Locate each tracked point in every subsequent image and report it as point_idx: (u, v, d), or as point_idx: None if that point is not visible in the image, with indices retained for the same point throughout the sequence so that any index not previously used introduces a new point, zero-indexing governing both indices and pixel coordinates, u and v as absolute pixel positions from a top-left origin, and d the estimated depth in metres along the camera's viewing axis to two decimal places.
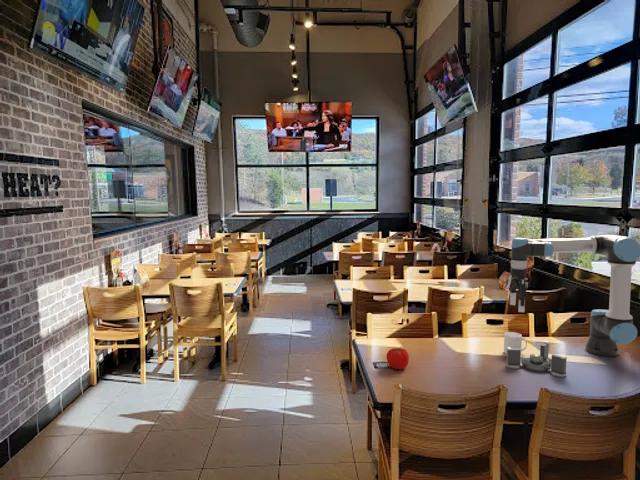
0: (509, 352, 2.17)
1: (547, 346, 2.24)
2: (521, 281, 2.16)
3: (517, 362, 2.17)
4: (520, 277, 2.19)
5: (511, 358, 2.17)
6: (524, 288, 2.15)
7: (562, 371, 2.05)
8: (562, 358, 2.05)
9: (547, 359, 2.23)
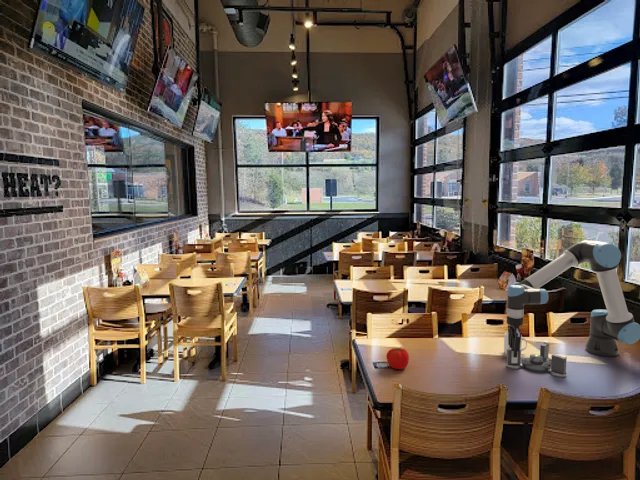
0: (509, 352, 2.17)
1: (547, 346, 2.24)
2: (517, 335, 2.10)
3: (517, 362, 2.17)
4: (516, 326, 2.12)
5: None
6: (519, 341, 2.11)
7: (562, 371, 2.05)
8: (562, 358, 2.05)
9: (547, 359, 2.23)
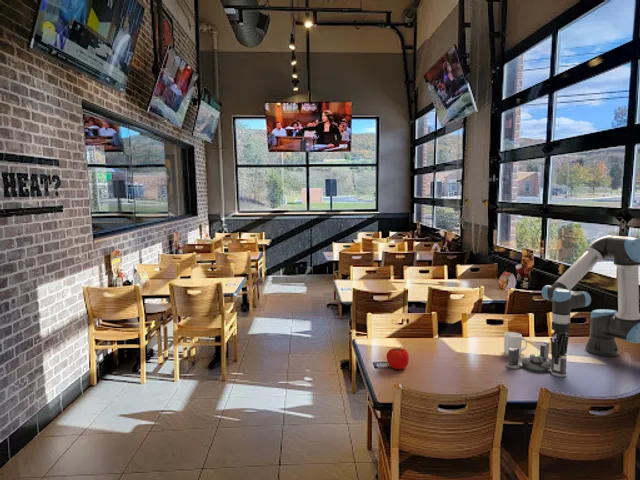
0: (512, 353, 2.15)
1: (547, 346, 2.24)
2: (551, 340, 2.03)
3: (516, 361, 2.18)
4: (555, 331, 2.04)
5: (513, 358, 2.16)
6: (554, 347, 2.03)
7: (562, 371, 2.05)
8: (562, 358, 2.05)
9: (547, 359, 2.23)
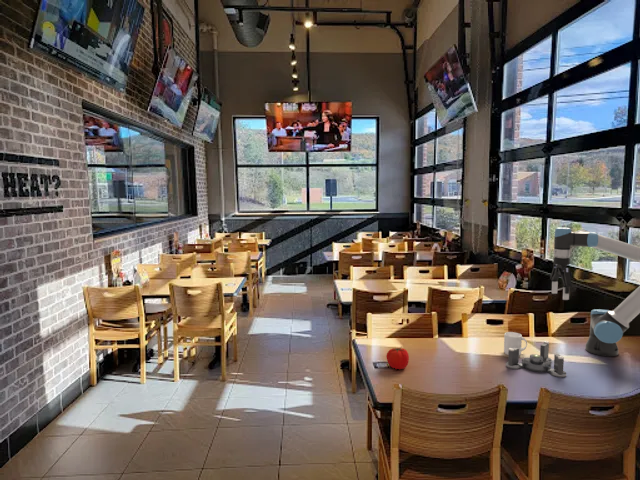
0: (512, 353, 2.15)
1: (547, 346, 2.24)
2: (565, 269, 2.22)
3: (516, 361, 2.18)
4: (564, 266, 2.25)
5: (513, 358, 2.16)
6: (569, 276, 2.21)
7: (558, 371, 2.06)
8: (558, 358, 2.05)
9: (547, 359, 2.23)
